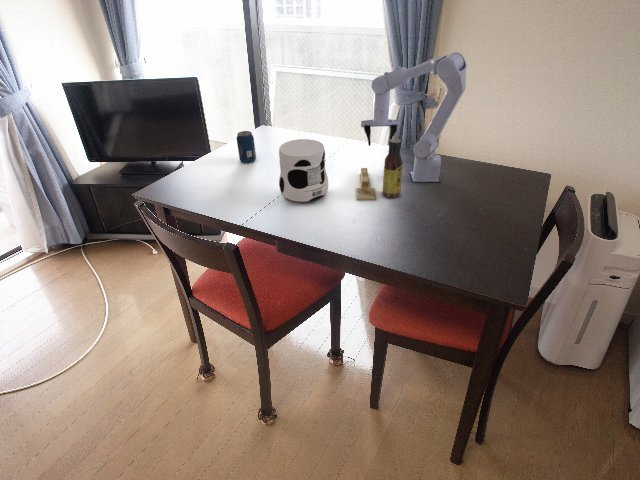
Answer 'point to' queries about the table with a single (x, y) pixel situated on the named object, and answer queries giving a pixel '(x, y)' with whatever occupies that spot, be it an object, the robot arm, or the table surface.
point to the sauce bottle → (393, 170)
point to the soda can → (246, 147)
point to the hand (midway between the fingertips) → (379, 144)
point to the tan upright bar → (365, 187)
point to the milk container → (302, 170)
